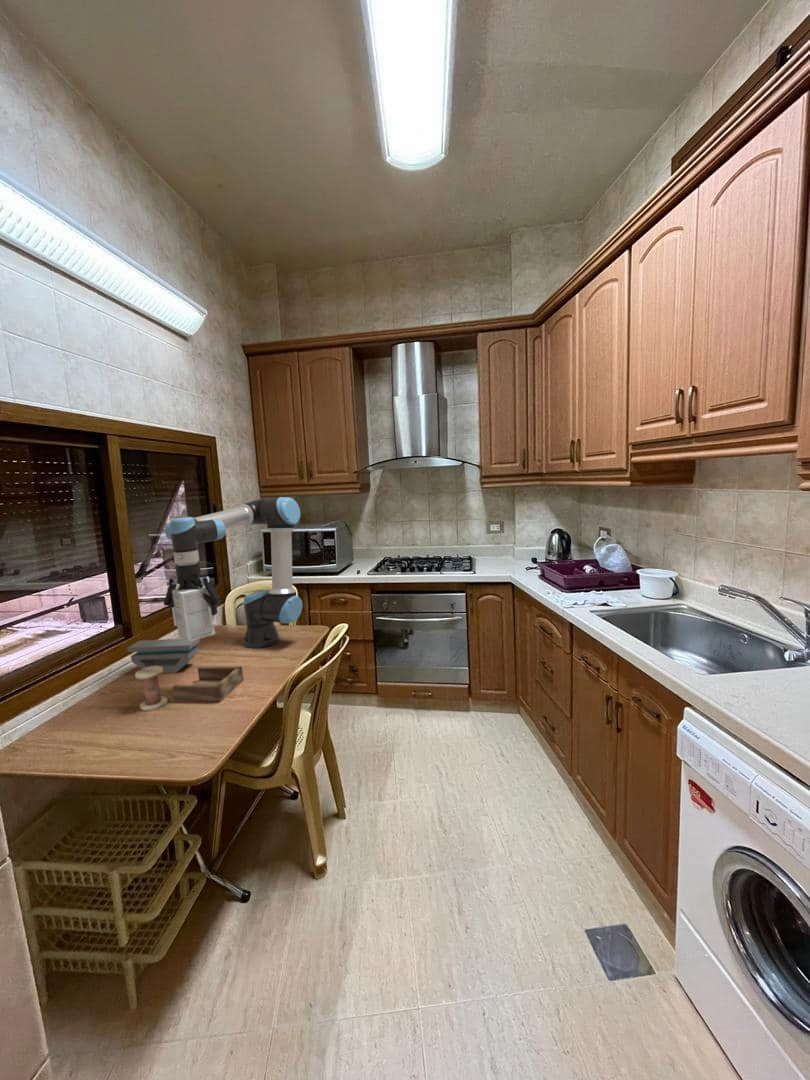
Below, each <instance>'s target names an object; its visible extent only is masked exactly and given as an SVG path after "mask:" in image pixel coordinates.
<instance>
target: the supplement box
mask: <svg viewBox="0 0 810 1080" xmlns="http://www.w3.org/2000/svg"><path fill="white" fill-rule="evenodd" d="M203 586H204V585H203ZM199 588H200V587H199ZM203 593H204V594H207V595H209V596H210V594H209V593H208V591H207V589H206V588H205V586H204V587H202V588H200V589H199V590H196V589H182V590H178V588H176V589H175V590H172V594H173V600H174V607H175V614H176V620H177V626H176V627H177V632H178V637H179V639H184V640H185V641H187V642H191V641H194V640H197V639H200V640H201V639H204V638H207V637H210V636H214V635H216V631H215V624H214V625H210V620H209V612H208V606H210V605H209V604H208V603H207V602H206V601H205V599H204V598H203Z"/></svg>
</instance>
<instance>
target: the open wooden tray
mask: <svg viewBox="0 0 810 1080" xmlns="http://www.w3.org/2000/svg"><path fill="white" fill-rule="evenodd" d="M197 673H198V680H197V681H196V682H195V683H193V684H174V685H173V686H172V688H171V689H172V692H173V693H172V695H173V702H174V703H221V702H222V701H223V700H225V698H227V696H228V695H230V693H232V692H233V691H234V690H235V689H236V688H237V687H238V686H239V685H240V684H242V682H243V681H244V674H243V666H199V667H197Z"/></svg>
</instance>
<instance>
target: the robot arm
mask: <svg viewBox="0 0 810 1080" xmlns="http://www.w3.org/2000/svg"><path fill="white" fill-rule="evenodd" d="M300 519H301V509H300V507H299V505H298V502H297V501H296V500H295V499H293V498H292V497H288V496H287V497H285V496H284V497H283V496H280V497H263V498H259V499H258V498H257V499H256V500H251V501H248V502H245V503H241V504H239V505H237V507H234V508H230V509H224V510H221V511H217V512H212V513H209V514H205V515H200V516H196V517H192V516H188V517H187V516H186V517H177V518H172V519H170V520H169V522H168V523H167V525H166V526H165V529H164V534H165V536H166V538H167V539H168V540H169V541H171V545H172V551H173V559H174V564H175V574H176V576H175V577H171V578H168V588H167V591H166V594H165V597H164V601H163V605H164V606H167V607H169V610H170V616H171V617H172V618H173V624H174V626H175V627H177V620H176V614H175V607H174V600H173V594H172V590H175V589H178V590H182V589H196V590H199V589H200V588H202V587H204V586H205V588H206V589H207V591H208V593H209V594H210V596H209V595H207V594H204V593H203V598H204V599H205V601H206V602H207V603H208V604H209V605H210V606H208V612H209V620H210V625H214V626H215V624H217V616H216V615H217V614H218V609H217V608H218V604H221V603H222V599H221V597H220V595H219V593H218V592H217V590H216V588H215V587H214V585H213V583H212V580H211V576H209V575H208V576H205V577H202V576H201V573H202V571H201V563H200V562H199V561H200V554H199V548H198V544H203V543H208V542H213V541H214V542H216V541H218V540H222V539H223V538H225V534H226V533H227V532H226V531H227V530H229V529H232V528H235V527H240V526H244V527H247V526H248V527H249V526H251V525H254V526H255V525H265V526H266V529H267V531H269V533H270V543H271V544H270V549H271V551H270V552H271V553H270V554H271V589H263V590H258V591H253V592H250V593H248V594H246V595H245V596H244V597H243V602H244V603H243V607H244V608H243V609H244V616H245V621H246V631H245V636H244V646H245V647H246V648H250V649H261V648H266V647H270V646H273V645H275V644H277V643H278V642H279V641H280V639H281V636H280V633H279V632H278V629H277V626H276V625H275V623H280V624H292V623H294V622H296V621H297V620H298V619H299V617H300V615H301V613H302V611H303V601H302V599H301V597H299V596H298V595H297V590H296V589H295V588H294V587H293V585H294V583H293V582H294V581H293V549H292V548H293V542H292V541H293V540H292V536H293V535H292V532H293V531H294V530H295V528H296V524H298V523H299V522H300ZM177 585H179V587H178V588H177ZM199 587H200V588H199Z"/></svg>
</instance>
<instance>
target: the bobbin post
mask: <svg viewBox="0 0 810 1080" xmlns="http://www.w3.org/2000/svg"><path fill="white" fill-rule="evenodd" d="M162 672H163V667H162V666H150V667H146V668H143V669H141V668H140V669H139V670H137V671H136V672H135V674H134V675H135V679H137V680H142V684H143V686H142V687H143V692H144V697H145V700H143V701H142V702H140V704H139V708H140V710H141V711H143V712H149V711H150V712H152V711H155V710H158V709H160V708H163V707H164V706H165V705H167V704H168V702H169V701H168V697H167V696H165V695H161V690H160V689H161V688H160V684H159V683H160V682H159V675H161V674H163V673H162Z"/></svg>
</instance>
